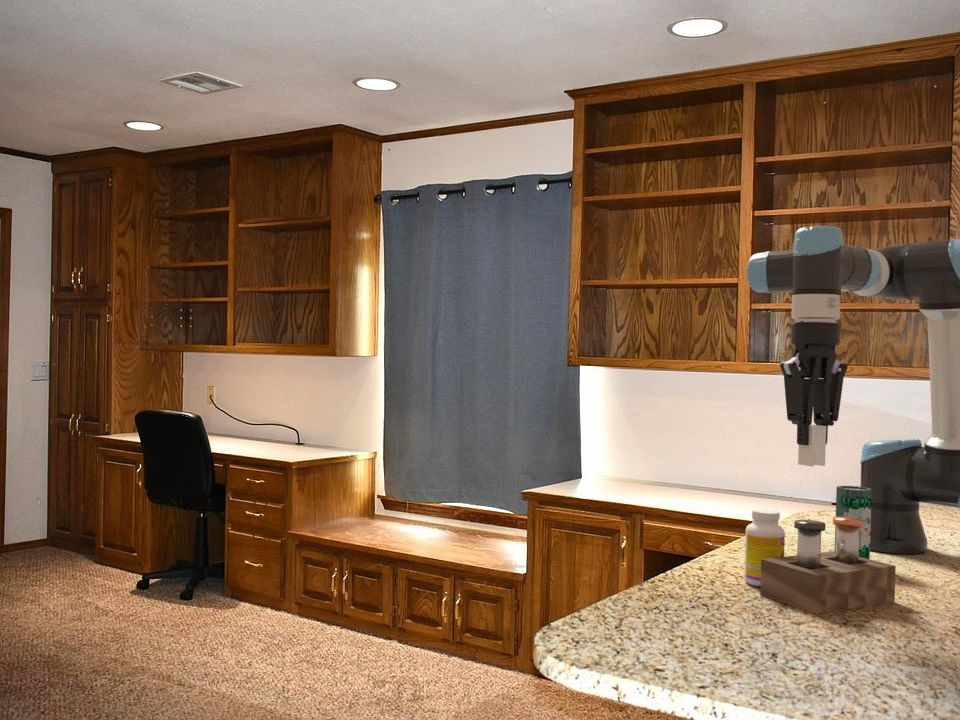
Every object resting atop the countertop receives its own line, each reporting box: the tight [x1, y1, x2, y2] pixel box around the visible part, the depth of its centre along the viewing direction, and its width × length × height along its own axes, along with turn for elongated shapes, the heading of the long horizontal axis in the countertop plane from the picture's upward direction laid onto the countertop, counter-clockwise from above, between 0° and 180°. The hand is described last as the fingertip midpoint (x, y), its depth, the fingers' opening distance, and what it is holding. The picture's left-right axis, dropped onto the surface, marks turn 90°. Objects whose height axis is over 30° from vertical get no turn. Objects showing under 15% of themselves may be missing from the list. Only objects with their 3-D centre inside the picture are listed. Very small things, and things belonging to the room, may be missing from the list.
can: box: [834, 485, 872, 560], centre depth 176 cm, size 6×6×15 cm
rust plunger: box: [832, 516, 863, 565], centre depth 153 cm, size 5×5×9 cm
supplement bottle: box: [743, 508, 786, 588], centre depth 159 cm, size 7×7×13 cm
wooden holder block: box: [759, 550, 897, 615], centre depth 150 cm, size 18×12×6 cm, turn 118°
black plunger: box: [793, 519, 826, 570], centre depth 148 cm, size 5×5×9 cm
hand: (811, 464), depth 148 cm, fingers open, 2 cm apart
